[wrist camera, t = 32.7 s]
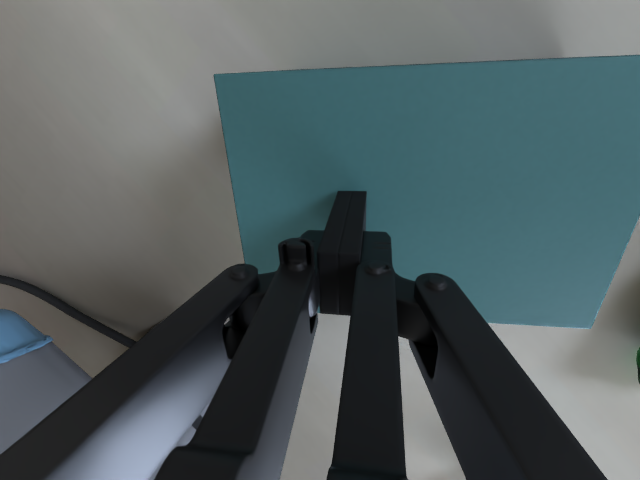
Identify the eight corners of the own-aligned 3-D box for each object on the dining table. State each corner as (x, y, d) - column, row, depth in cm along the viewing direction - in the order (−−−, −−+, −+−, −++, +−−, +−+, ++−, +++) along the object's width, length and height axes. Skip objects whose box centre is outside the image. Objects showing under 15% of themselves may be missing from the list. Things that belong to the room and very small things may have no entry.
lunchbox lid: (255, 301, 23) (252, 309, 22) (219, 73, 16) (212, 74, 16) (583, 320, 20) (591, 329, 19) (694, 52, 14) (711, 52, 13)
